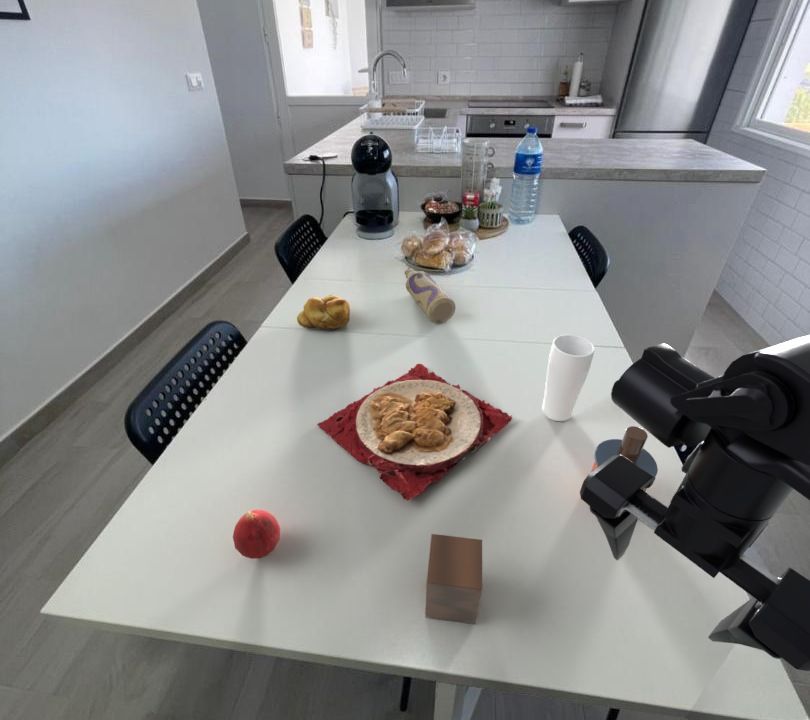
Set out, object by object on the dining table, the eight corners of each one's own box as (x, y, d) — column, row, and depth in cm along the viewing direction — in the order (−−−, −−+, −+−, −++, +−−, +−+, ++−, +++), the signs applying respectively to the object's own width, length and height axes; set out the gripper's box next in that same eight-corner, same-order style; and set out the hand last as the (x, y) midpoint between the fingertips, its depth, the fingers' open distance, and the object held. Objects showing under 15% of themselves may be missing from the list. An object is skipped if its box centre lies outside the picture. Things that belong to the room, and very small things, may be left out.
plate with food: (512, 425, 80) (515, 410, 78) (408, 506, 65) (408, 490, 63) (419, 369, 94) (419, 355, 92) (316, 425, 80) (314, 410, 78)
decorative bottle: (456, 321, 109) (458, 297, 105) (427, 326, 107) (428, 302, 103) (421, 277, 129) (421, 256, 125) (396, 281, 127) (395, 259, 123)
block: (476, 575, 57) (482, 539, 53) (475, 624, 52) (482, 589, 48) (429, 569, 58) (431, 533, 53) (425, 617, 53) (426, 582, 48)
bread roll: (295, 334, 105) (290, 304, 100) (302, 314, 112) (297, 285, 108) (350, 333, 105) (347, 303, 100) (353, 313, 113) (351, 284, 108)
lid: (668, 469, 61) (683, 439, 58) (632, 496, 57) (646, 465, 54) (617, 434, 66) (628, 404, 63) (582, 456, 63) (591, 426, 60)
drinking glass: (579, 408, 83) (599, 341, 74) (569, 430, 78) (589, 361, 70) (543, 396, 86) (559, 330, 77) (532, 416, 81) (546, 348, 73)
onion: (291, 536, 62) (282, 500, 57) (270, 575, 57) (258, 539, 53) (254, 526, 63) (242, 490, 59) (231, 564, 59) (216, 528, 54)
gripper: (927, 519, 31) (810, 624, 40) (666, 384, 43) (621, 488, 52) (879, 619, 26) (757, 714, 35) (597, 433, 38) (560, 539, 47)
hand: (662, 593), depth 42 cm, fingers open, 9 cm apart
